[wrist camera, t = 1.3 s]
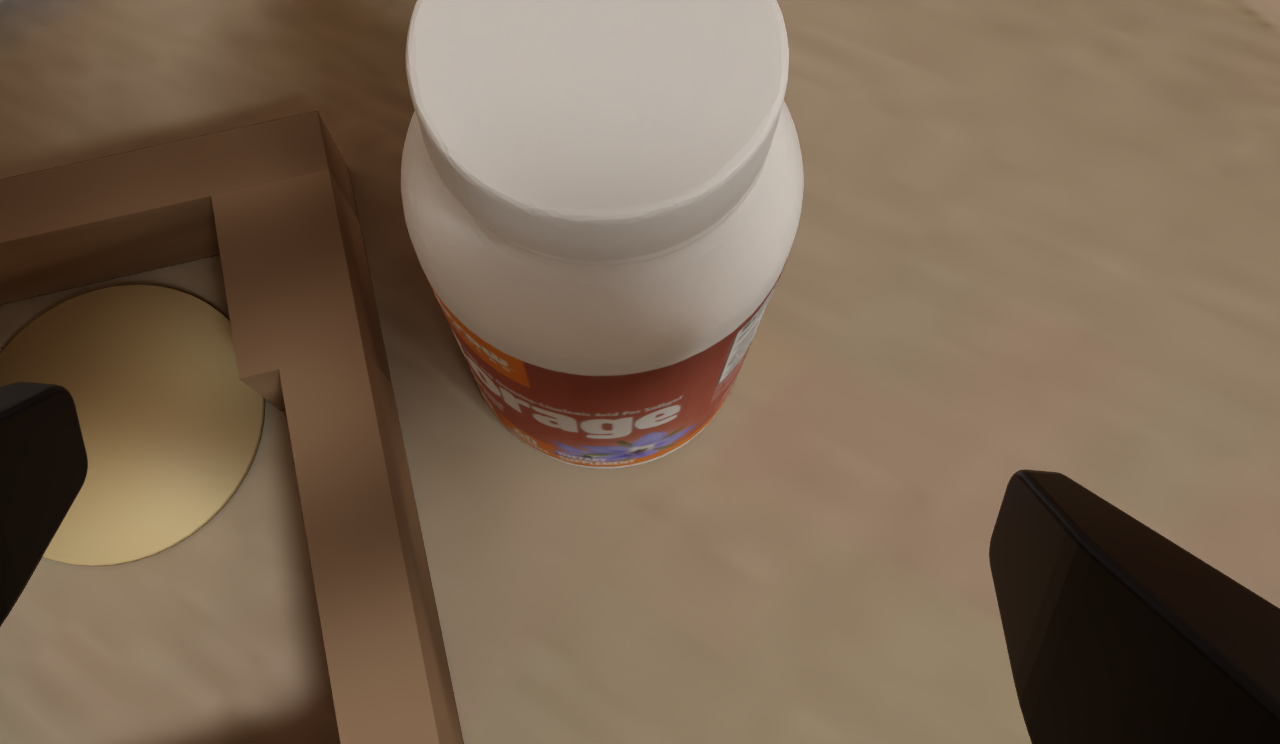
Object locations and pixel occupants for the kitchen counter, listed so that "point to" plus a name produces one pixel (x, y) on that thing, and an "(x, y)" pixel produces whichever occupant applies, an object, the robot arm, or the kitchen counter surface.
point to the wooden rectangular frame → (235, 385)
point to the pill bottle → (601, 207)
